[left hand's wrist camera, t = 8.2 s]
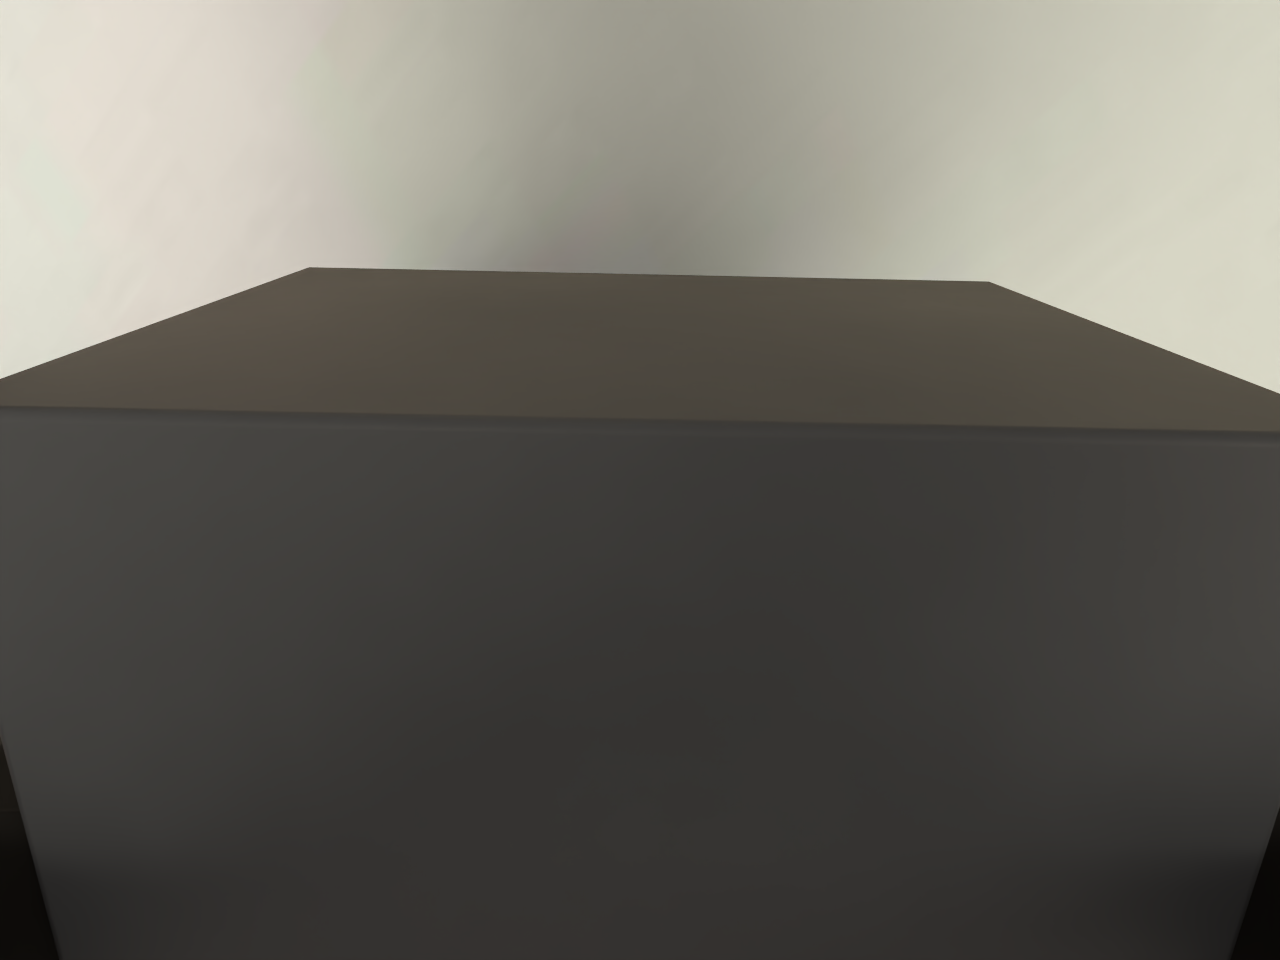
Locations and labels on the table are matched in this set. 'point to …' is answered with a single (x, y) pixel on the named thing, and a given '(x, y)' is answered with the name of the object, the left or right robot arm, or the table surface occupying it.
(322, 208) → the table surface
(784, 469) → the thick board
